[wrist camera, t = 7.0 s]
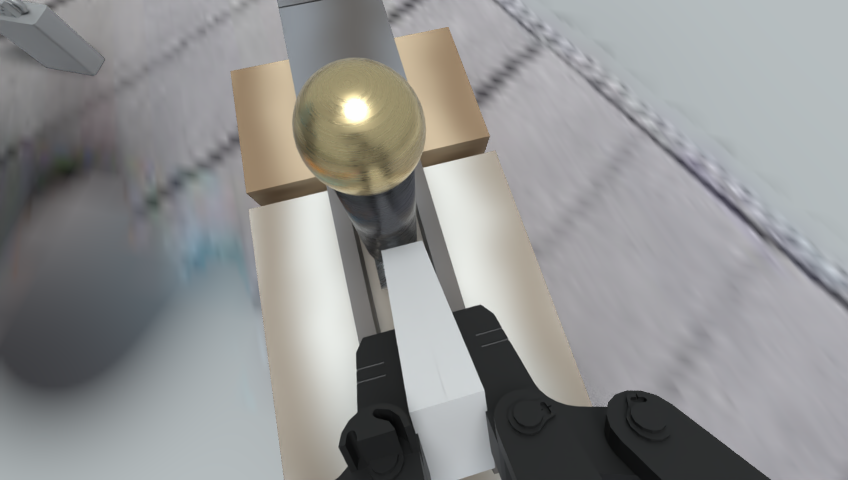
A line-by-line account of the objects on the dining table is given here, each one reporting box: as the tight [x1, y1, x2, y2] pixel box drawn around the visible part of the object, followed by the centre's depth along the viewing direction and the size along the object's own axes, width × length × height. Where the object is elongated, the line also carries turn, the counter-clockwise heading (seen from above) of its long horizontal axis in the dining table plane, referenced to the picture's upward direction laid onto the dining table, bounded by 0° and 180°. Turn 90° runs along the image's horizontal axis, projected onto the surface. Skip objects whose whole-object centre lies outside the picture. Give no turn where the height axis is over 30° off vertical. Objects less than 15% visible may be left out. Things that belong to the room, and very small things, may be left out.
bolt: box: [292, 58, 426, 290], centre depth 13 cm, size 3×12×12 cm, turn 15°
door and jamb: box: [231, 0, 593, 480], centre depth 18 cm, size 14×25×8 cm, turn 15°
